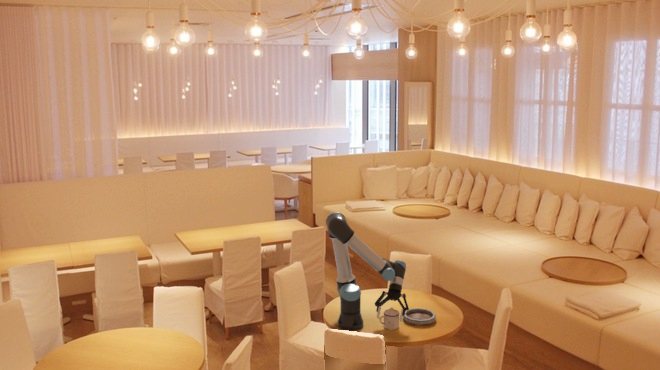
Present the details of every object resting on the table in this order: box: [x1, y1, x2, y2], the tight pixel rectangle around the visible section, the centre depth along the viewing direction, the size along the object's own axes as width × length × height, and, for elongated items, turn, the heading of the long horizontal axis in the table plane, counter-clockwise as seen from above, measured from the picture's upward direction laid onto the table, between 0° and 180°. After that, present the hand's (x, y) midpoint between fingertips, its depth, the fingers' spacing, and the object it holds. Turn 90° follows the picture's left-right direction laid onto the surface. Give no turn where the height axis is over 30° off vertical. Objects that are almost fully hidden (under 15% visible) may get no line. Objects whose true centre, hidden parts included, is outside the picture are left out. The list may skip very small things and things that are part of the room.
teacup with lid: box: [378, 307, 400, 331], centre depth 371 cm, size 12×9×12 cm
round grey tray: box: [402, 307, 437, 327], centre depth 383 cm, size 19×19×3 cm
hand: (389, 319), depth 370 cm, fingers open, 13 cm apart
